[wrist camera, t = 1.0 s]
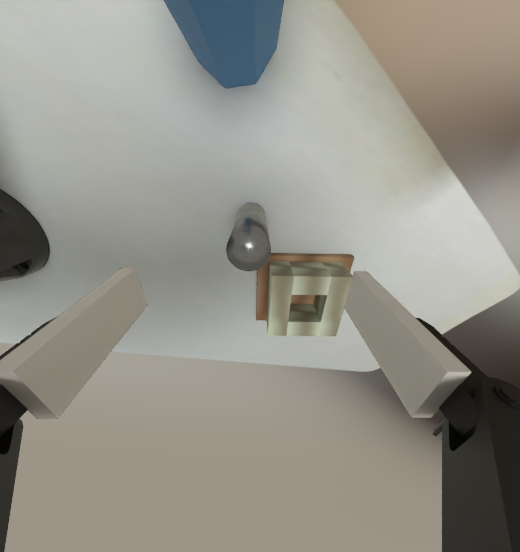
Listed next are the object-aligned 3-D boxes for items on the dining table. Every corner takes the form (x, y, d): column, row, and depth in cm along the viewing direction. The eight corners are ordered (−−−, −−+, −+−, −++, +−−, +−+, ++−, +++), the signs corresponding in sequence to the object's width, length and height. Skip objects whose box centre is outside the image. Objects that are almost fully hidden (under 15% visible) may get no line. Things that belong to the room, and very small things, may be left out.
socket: (256, 316, 40) (256, 339, 34) (257, 252, 33) (257, 269, 28) (334, 317, 40) (345, 340, 35) (351, 254, 33) (369, 271, 28)
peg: (239, 229, 31) (227, 270, 19) (238, 202, 29) (225, 229, 17) (264, 229, 31) (269, 271, 19) (265, 202, 29) (271, 230, 17)
